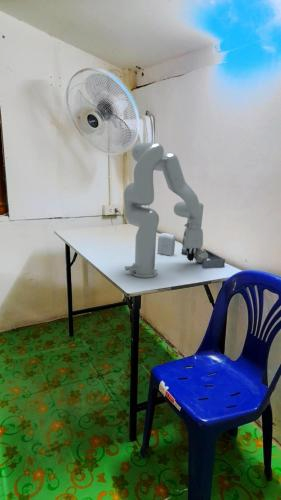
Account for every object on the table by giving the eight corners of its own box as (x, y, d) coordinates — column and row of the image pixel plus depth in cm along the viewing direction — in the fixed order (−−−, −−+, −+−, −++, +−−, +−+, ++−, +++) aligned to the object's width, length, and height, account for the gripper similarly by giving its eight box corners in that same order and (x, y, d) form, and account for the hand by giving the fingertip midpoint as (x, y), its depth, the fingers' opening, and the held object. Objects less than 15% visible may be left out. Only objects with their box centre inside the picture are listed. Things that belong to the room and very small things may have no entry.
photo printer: (175, 254, 189) (176, 234, 186) (172, 256, 186) (173, 235, 182) (159, 251, 194) (160, 231, 191) (156, 253, 191) (157, 233, 187)
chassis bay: (203, 268, 167) (203, 261, 166) (186, 257, 184) (187, 251, 183) (225, 266, 171) (226, 259, 170) (207, 256, 188) (208, 249, 187)
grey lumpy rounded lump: (195, 269, 176) (186, 253, 175) (204, 262, 180) (195, 247, 180) (206, 265, 168) (197, 249, 168) (216, 258, 173) (206, 242, 173)
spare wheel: (184, 255, 188) (184, 251, 187) (179, 252, 194) (179, 248, 194) (195, 255, 190) (195, 250, 189) (190, 251, 196) (190, 247, 196)
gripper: (184, 227, 163) (180, 262, 168) (210, 227, 168) (206, 261, 173) (177, 224, 170) (174, 258, 175) (203, 225, 175) (199, 257, 179)
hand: (190, 260), depth 174 cm, fingers closed
